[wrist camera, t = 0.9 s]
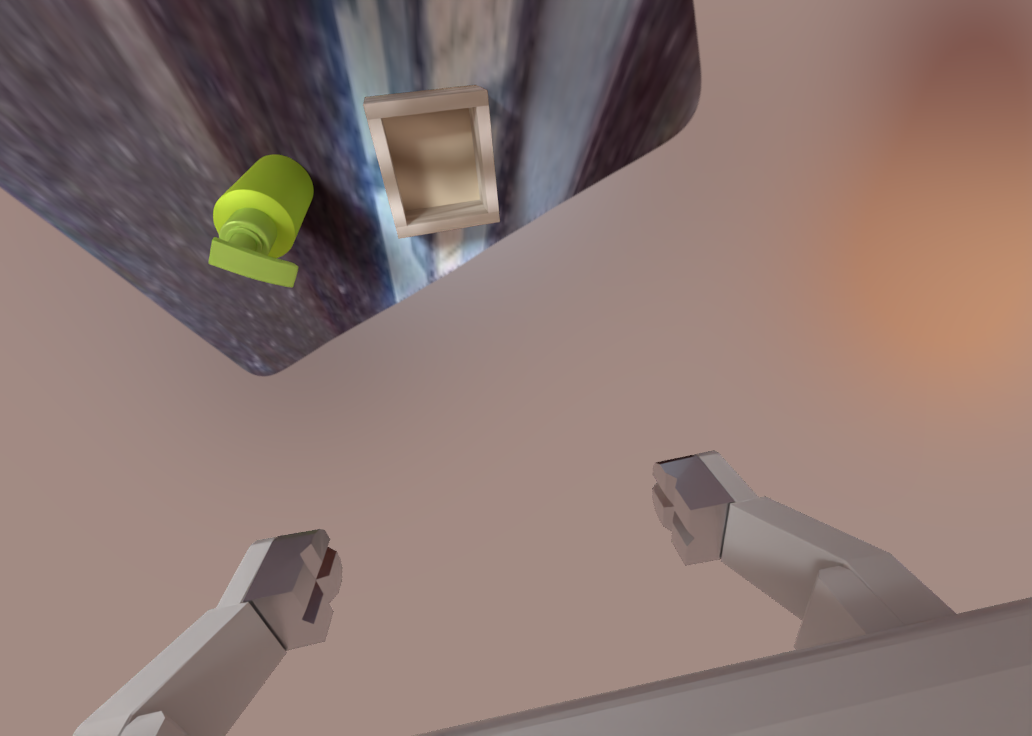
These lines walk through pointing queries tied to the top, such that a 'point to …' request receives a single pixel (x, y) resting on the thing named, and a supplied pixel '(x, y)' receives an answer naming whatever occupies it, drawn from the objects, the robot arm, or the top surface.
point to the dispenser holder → (435, 158)
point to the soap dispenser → (262, 220)
